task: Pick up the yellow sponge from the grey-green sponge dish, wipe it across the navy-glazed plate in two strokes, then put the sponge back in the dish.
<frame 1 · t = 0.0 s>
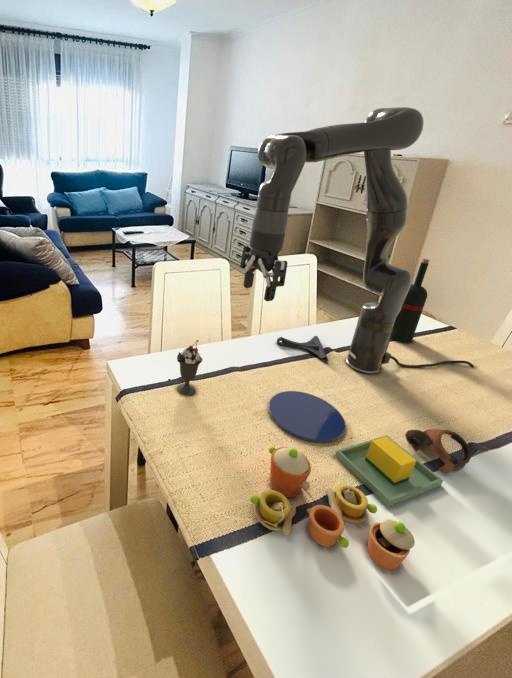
hand: (257, 293, 94), 29 cm above the table, tool pointing down, fingers open, 8 cm apart
sponge: (386, 470, 82), resting on dish
pottery mug: (429, 456, 87), on the table
plate: (304, 417, 97), on the table
sundae: (186, 390, 105), on the table
toy tea set: (322, 517, 71), on the table
bracket: (298, 347, 130), on the table
wine bottle: (395, 337, 141), on the table
dish: (385, 471, 82), on the table
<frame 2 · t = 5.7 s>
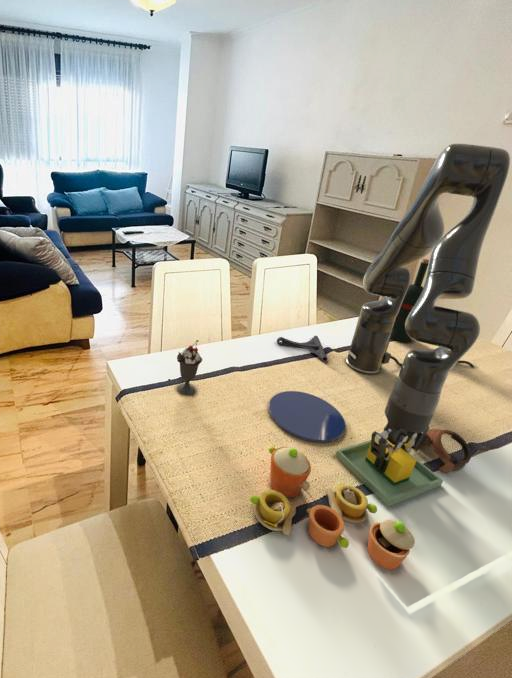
hand: (387, 466, 82), 2 cm above the table, tool pointing down, fingers closed on sponge, 4 cm apart
sponge: (386, 470, 82), point 1 cm above the table, touching dish, gripper
everything else where it was.
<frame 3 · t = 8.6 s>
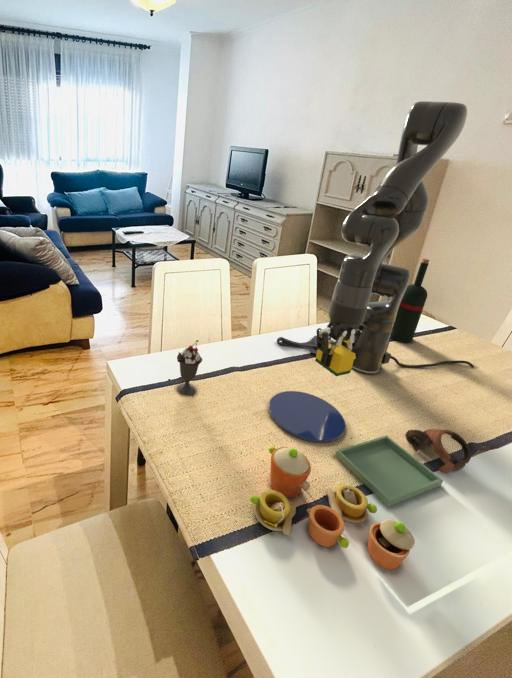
hand: (332, 363, 95), 14 cm above the table, tool pointing down, fingers closed on sponge, 4 cm apart
sponge: (332, 366, 95), point 13 cm above the table, touching gripper
everything else where it was.
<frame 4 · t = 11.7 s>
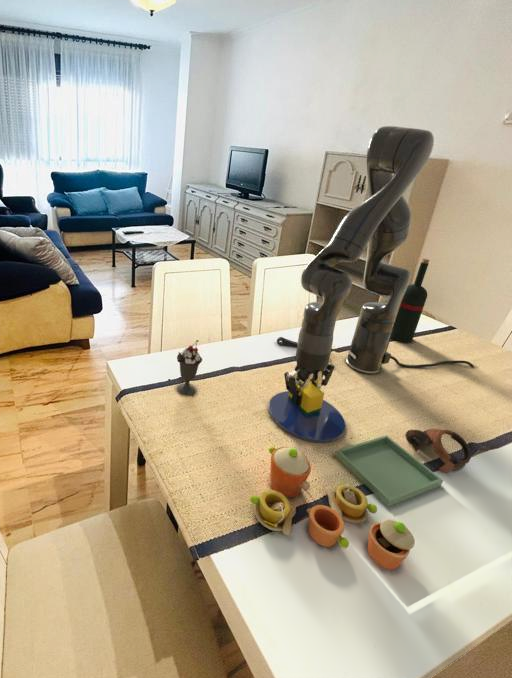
hand: (304, 401, 99), 3 cm above the table, tool pointing down, fingers open, 4 cm apart
sponge: (304, 404, 99), point 2 cm above the table, touching gripper, plate
plate: (304, 417, 97), on the table, touching sponge
everything else where it was.
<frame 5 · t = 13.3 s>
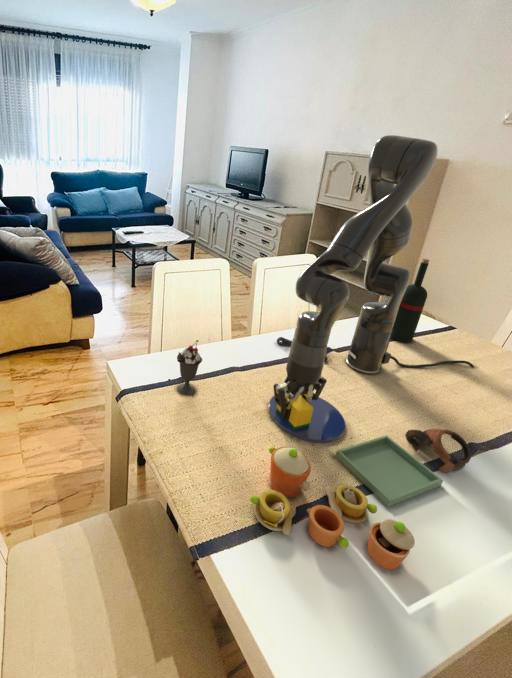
hand: (293, 415, 94), 2 cm above the table, tool pointing down, fingers closed on sponge, 4 cm apart
sponge: (292, 418, 94), point 1 cm above the table, touching gripper, plate
everything else where it was.
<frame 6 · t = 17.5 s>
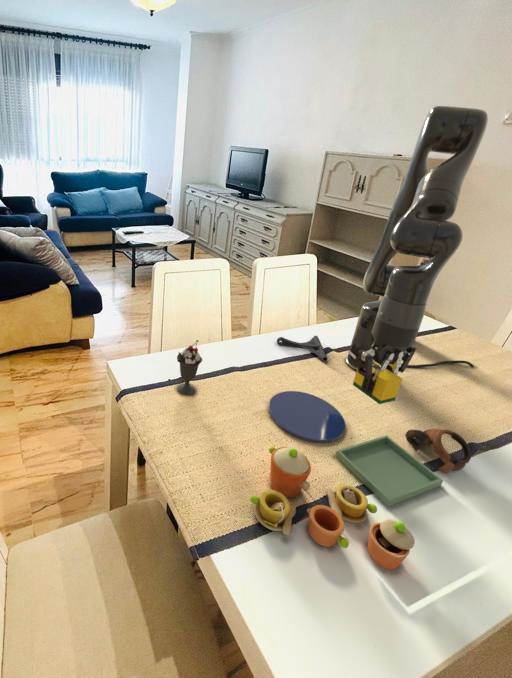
hand: (375, 389, 83), 16 cm above the table, tool pointing down, fingers closed on sponge, 4 cm apart
sponge: (373, 392, 83), point 15 cm above the table, touching gripper
plate: (304, 417, 97), on the table
everything else where it was.
when the fingers open (1 cm above the table, at t = 21.7 s): sponge stays where it is, resting on dish.
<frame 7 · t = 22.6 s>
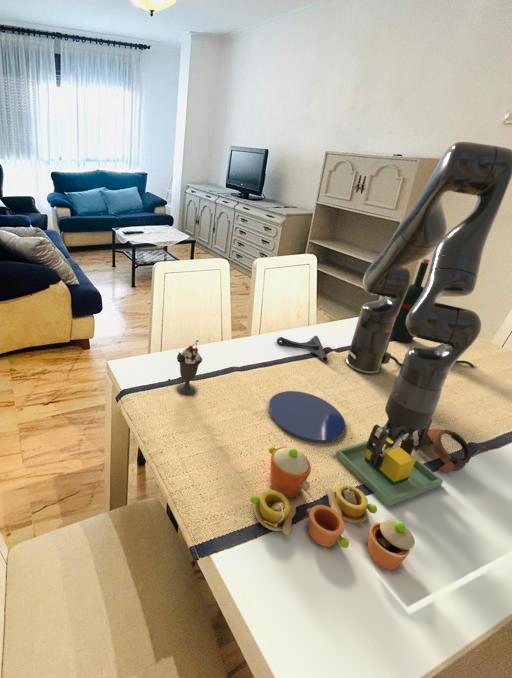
hand: (389, 460, 81), 3 cm above the table, tool pointing down, fingers open, 8 cm apart
sponge: (385, 469, 82), resting on dish
everything else where it was.
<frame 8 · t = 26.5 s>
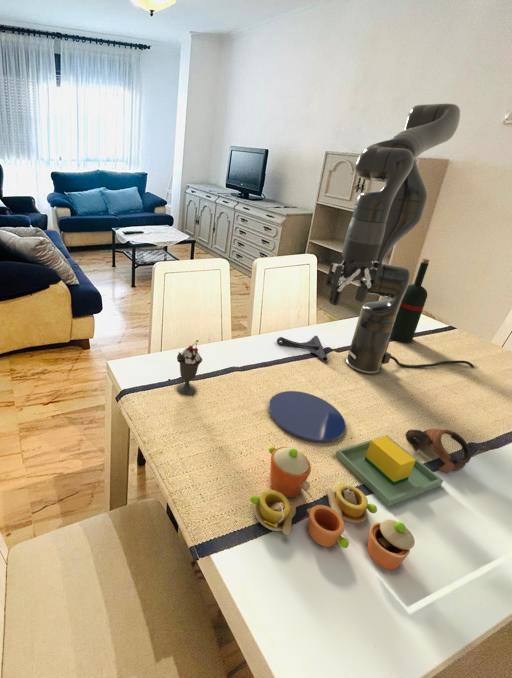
hand: (346, 302, 95), 28 cm above the table, tool pointing down, fingers open, 8 cm apart
nothing on the table moved.
at the end: sponge inside the target area in the dish (0.1 cm from its centre), point 0.5 cm above the dish's base; plate moved 0.0 cm from its start; sponge tilted 0° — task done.
